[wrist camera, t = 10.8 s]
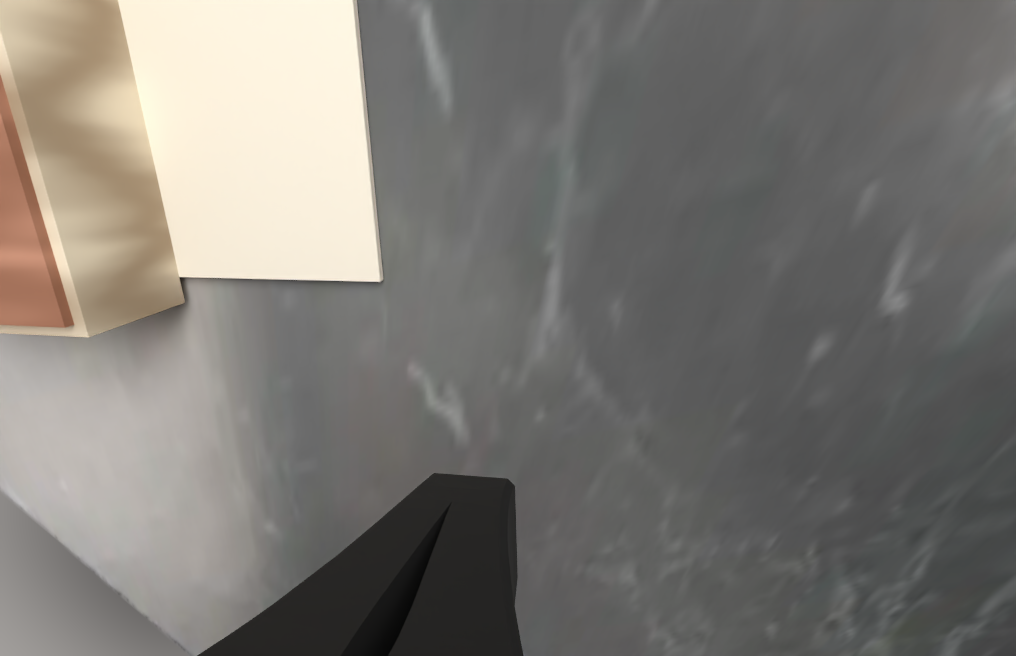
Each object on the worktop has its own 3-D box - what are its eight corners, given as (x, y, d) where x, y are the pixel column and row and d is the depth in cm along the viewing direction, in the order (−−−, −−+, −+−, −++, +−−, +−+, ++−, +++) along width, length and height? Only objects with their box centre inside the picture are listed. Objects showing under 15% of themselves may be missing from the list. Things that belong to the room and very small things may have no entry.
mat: (383, 279, 19) (380, 281, 18) (-142, 267, 23) (-151, 268, 22) (325, -324, 14) (320, -334, 13) (-339, -203, 17) (-354, -209, 17)
